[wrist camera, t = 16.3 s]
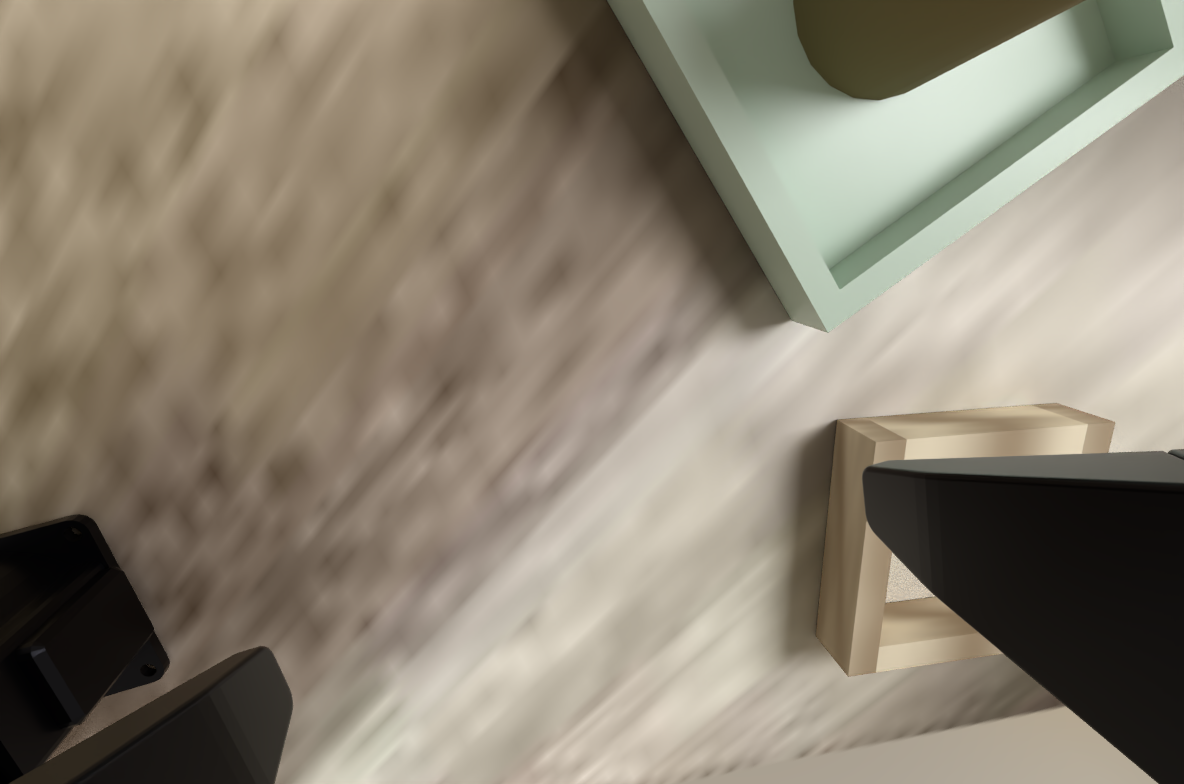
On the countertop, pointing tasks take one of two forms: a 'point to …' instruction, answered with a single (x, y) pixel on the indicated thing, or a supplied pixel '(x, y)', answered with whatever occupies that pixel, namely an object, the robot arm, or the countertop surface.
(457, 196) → the countertop surface
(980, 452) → the wooden collar
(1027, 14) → the cork
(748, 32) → the sage green tray
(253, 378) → the countertop surface
